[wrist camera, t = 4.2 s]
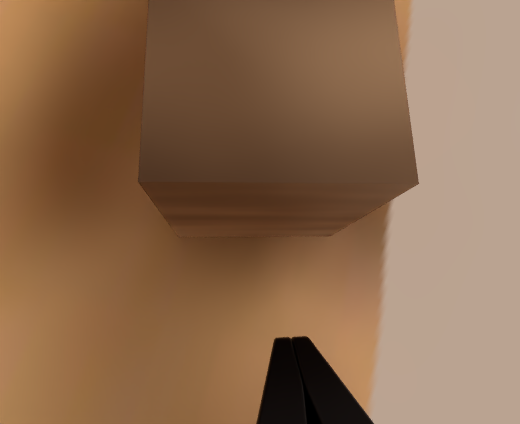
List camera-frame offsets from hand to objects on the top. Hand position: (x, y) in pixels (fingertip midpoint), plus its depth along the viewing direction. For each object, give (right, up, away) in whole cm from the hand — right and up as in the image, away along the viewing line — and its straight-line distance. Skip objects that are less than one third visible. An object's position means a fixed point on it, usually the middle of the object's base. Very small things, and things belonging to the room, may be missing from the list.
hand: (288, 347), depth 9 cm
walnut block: (-1, +9, +9) cm, 13 cm away
